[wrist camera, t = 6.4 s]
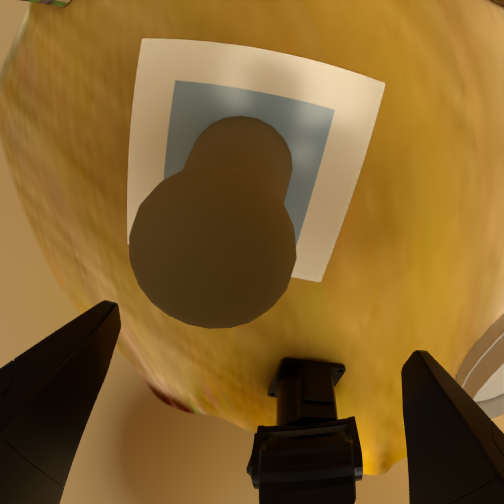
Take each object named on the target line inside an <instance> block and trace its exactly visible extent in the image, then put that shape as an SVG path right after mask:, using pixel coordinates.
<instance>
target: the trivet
mask: <svg viewBox="0 0 504 504" xmlns="http://www.w3.org/2000/svg"><path fill="white" fill-rule="evenodd" d="M385 84H386V83H383V82H381V81H378V80H375V79H373V78H370V77H367V76H364V75H361V74H358V73H355V72H352V71H349V70H346V69H342V68H339V67H336V66H332V65H329V64H325V63H322V62H318V61H314V60H310V59H306V58H302V57H298V56H294V55H289V54H285V53H280V52H275V51H270V50H264V49H259V48H253V47H247V46H240V45H233V44H225V43H217V42H207V41H196V40H181V39H154V38H142V42H141V48H140V54H139V60H138V66H137V73H136V81H135V88H134V97H133V106H132V116H131V127H130V141H129V157H128V182H127V241H128V245H129V235H130V232H131V228H132V225H133V222H134V219H135V217H136V214H137V211H138V208H139V206H140V204H141V203H142V202H143V201H144V200H145V199H146V197H147V196H148V195H149V194H150V193H151V192H152V191H153V189H154V188H155V187H156V186H157V185H158V184H159V183H160V182H161V181H163V180H165V179H166V178H168V177H170V176H172V175H174V174H176V173H178V172H180V171H182V170H183V168H184V165H185V163H186V161H187V159H188V157H189V154H190V152H191V150H192V148H193V146H194V144H195V142H196V140H197V138H198V136H199V135H200V134H201V133H202V132H203V131H204V130H205V129H206V128H207V127H208V126H209V125H211V124H213V123H215V122H217V121H219V120H221V119H223V118H227V117H234V116H246V117H252V118H257V119H260V120H262V121H263V122H265V123H267V124H269V125H271V126H273V127H274V128H275V129H276V130H277V131H278V132H279V134H280V135H281V136H282V137H283V138H284V139H285V141H286V143H287V145H288V148H289V150H290V152H291V157H292V167H293V170H292V174H291V178H290V182H289V186H288V190H287V194H286V198H285V202H284V206H285V208H286V210H287V212H288V214H289V216H290V219H291V221H292V223H293V225H294V231H295V241H296V255H297V259H296V262H295V265H294V269H293V272H292V275H291V277H294V278H299V279H305V280H310V281H315V282H321V280H322V278H323V275H324V273H325V270H326V267H327V265H328V262H329V260H330V257H331V254H332V252H333V249H334V246H335V244H336V241H337V238H338V235H339V233H340V230H341V227H342V224H343V222H344V219H345V216H346V213H347V210H348V207H349V204H350V201H351V198H352V195H353V192H354V189H355V186H356V183H357V180H358V177H359V174H360V171H361V168H362V165H363V162H364V158H365V155H366V152H367V149H368V145H369V142H370V139H371V135H372V132H373V128H374V125H375V121H376V118H377V114H378V110H379V107H380V103H381V99H382V95H383V92H384V88H385Z"/></svg>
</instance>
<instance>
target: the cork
mask: <svg viewBox="0 0 504 504" xmlns="http://www.w3.org/2000/svg"><path fill="white" fill-rule="evenodd" d="M292 170H293V167H292V157H291V152H290V150H289V148H288V145H287V143H286V141H285V139H284V138H283V137H282V136H281V135H280V134H279V132H278V131H277V130H276V129H275V128H274V127H273V126H271V125H269V124H267V123H265V122H263V121H262V120H260V119H257V118H252V117H246V116H234V117H227V118H223V119H221V120H219V121H217V122H215V123H213V124H211V125H209V126H208V127H207V128H206V129H205V130H204V131H203V132H202V133H201V134H200V135H199V136H198V138H197V140H196V142H195V144H194V146H193V148H192V150H191V152H190V154H189V157H188V159H187V161H186V163H185V165H184V168H183V170H182V171H180V172H178V173H176V174H174V175H172V176H170V177H168V178H166V179H165V180H163V181H161V182H160V183H159V184H158V185H157V186H156V187H155V188H154V189H153V191H152V192H151V193H150V194H149V195H148V196H147V197H146V199H145V200H144V201H143V202H142V203H141V204H140V206H139V208H138V211H137V214H136V217H135V219H134V222H133V225H132V228H131V232H130V235H129V255H130V262H131V265H132V269H133V271H134V274H135V277H136V279H137V282H138V284H139V287H140V288H141V289H142V290H143V292H144V293H145V294H146V296H147V297H148V298H149V299H150V301H151V302H152V303H153V304H154V305H156V306H157V307H158V308H160V309H161V310H162V311H163V312H165V313H166V314H167V315H169V316H171V317H173V318H175V319H177V320H180V321H182V322H184V323H186V324H189V325H194V326H199V327H204V328H209V329H211V328H231V327H235V326H238V325H242V324H245V323H249V322H251V321H252V320H254V319H255V318H257V317H259V316H260V315H262V314H263V313H265V312H266V311H268V310H269V309H270V308H271V307H273V306H274V304H275V303H276V302H277V301H278V299H279V298H280V297H281V296H282V294H283V293H284V292H285V291H286V289H287V287H288V284H289V281H290V278H291V275H292V272H293V269H294V265H295V262H296V259H297V255H296V241H295V231H294V225H293V223H292V221H291V219H290V216H289V214H288V212H287V210H286V208H285V206H284V202H285V198H286V194H287V190H288V186H289V182H290V178H291V174H292Z"/></svg>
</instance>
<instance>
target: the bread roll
mask: <svg viewBox="0 0 504 504" xmlns="http://www.w3.org/2000/svg"><path fill="white" fill-rule="evenodd" d="M493 1H494V2H496V3H498V4H501V5H504V0H493Z"/></svg>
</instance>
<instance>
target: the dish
mask: <svg viewBox="0 0 504 504" xmlns="http://www.w3.org/2000/svg"><path fill="white" fill-rule="evenodd" d="M456 382H457V383H458V384H459V385H460V386H461V387H462V388H463V389H464V390H465V391H466V393H467V394H468V395H469V396H470V397H471V398H472V399H473V400H474V401H475V402H476V403H477V404H478V406H479V407H480V408H481V409H482V410H483V411H484V412H485V413H486V414H487V416H488V417H489V418H490V419H492V418H495V417H498V416H500V415H503V414H504V314H503V315H502V316H501V317H500V318H499V319H498V320H497V321H496V322H495V323H494V324H493V325H492V326H491V327H490V328H489V329H488V330H487V332H486V333H485V334H484V335H483V336H482V337H481V339H480V340H479V341H478V342H477V343H476V344H475V345H474V347H473V348H472V350H471V351H470V353H469V354H468V356H467V357H466V359H465V360H464V361H463V363H462V365H461V368H460V370H459V372H458V374H457V378H456Z"/></svg>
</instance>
